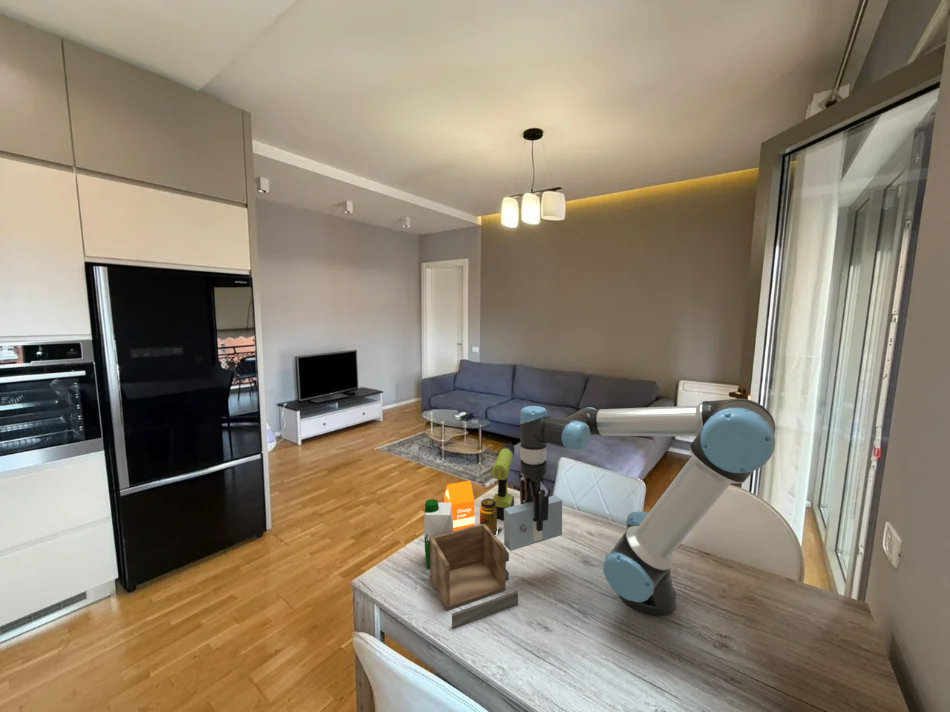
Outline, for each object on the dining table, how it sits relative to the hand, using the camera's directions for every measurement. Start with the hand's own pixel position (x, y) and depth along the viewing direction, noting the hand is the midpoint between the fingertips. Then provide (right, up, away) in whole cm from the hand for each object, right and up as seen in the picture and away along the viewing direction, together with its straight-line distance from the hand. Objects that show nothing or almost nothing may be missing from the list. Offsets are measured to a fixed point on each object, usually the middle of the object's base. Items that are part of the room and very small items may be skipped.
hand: (533, 535), depth 114 cm
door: (0, -1, 0) cm, 1 cm away
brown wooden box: (-18, -14, -4) cm, 23 cm away
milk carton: (-29, -13, +9) cm, 33 cm away
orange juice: (-23, -11, +22) cm, 34 cm away
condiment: (-12, -11, +25) cm, 30 cm away
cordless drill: (-5, -8, +41) cm, 42 cm away
